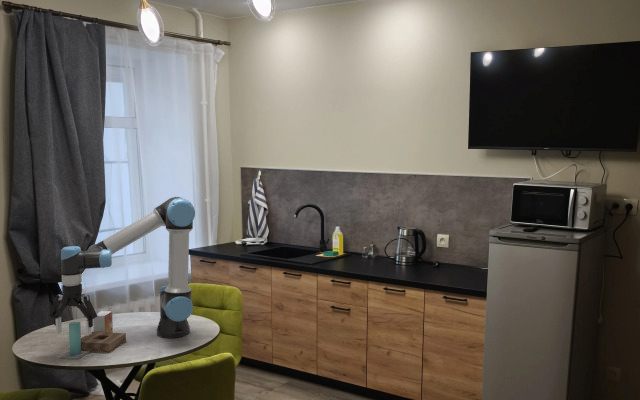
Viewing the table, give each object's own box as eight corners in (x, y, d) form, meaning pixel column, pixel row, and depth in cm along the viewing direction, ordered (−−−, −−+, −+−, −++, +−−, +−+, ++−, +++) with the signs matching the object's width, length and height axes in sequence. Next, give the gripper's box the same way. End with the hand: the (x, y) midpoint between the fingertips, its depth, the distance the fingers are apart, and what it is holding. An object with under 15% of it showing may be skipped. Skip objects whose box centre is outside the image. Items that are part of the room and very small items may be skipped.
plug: (83, 352, 237) (82, 322, 236) (77, 355, 232) (76, 325, 231) (73, 351, 237) (73, 321, 236) (67, 355, 233) (66, 324, 232)
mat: (88, 352, 238) (88, 351, 238) (78, 359, 230) (77, 358, 230) (71, 351, 239) (71, 350, 239) (60, 358, 231) (60, 356, 231)
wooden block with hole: (126, 341, 251) (125, 333, 251) (109, 352, 238) (109, 343, 237) (93, 340, 254) (92, 331, 253) (75, 350, 240) (74, 341, 240)
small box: (105, 338, 256) (104, 315, 255) (93, 338, 257) (92, 315, 256) (113, 332, 264) (112, 311, 263) (101, 332, 265) (101, 310, 264)
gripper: (104, 282, 234) (106, 332, 236) (50, 280, 238) (52, 329, 239) (94, 287, 226) (96, 338, 228) (38, 284, 230) (40, 335, 232)
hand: (73, 334), depth 234 cm, fingers open, 13 cm apart
